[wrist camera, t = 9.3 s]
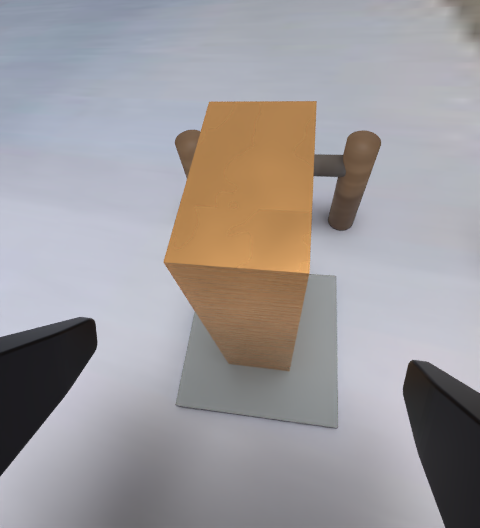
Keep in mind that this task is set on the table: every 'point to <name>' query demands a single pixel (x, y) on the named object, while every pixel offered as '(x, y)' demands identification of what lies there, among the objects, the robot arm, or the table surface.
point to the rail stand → (322, 171)
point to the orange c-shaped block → (248, 228)
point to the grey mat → (269, 380)
